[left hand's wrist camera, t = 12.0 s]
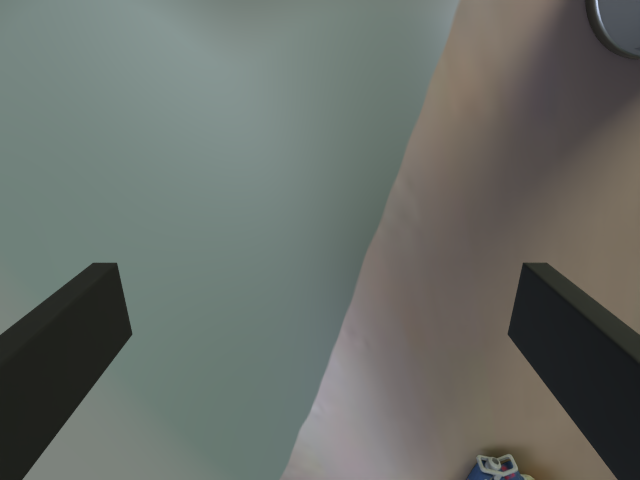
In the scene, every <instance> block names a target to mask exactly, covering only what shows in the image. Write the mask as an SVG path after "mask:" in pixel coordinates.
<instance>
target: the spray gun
mask: <svg viewBox="0 0 640 480" xmlns="http://www.w3.org/2000/svg"><path fill="white" fill-rule="evenodd" d="M476 459H477V461H478V462H477V464H476V465H475V467H474V468H473V470H472V471H471V473H470V474H469V476H468V478H467V480H535V479H534V478H532V477H531V476H530V475H526V474H520V473H519V471H518V467H517V465H516V463H515V461H514V459H513V457H512V455H510V454H507V455H504V456H502V457H499V458H494V457H487V456H482V455H478V456H477V457H476ZM506 459H511V461H512V462H511V461H508V462H505V463H503V464H502V465H501V464H500V461H503V460H506ZM483 460H486V461H483Z"/></svg>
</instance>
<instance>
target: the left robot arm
mask: <svg viewBox="0 0 640 480" xmlns="http://www.w3.org/2000/svg"><path fill="white" fill-rule="evenodd" d="M585 3H586V11H587V16H588V20H589V23H590V26H591V28H592V30H593V32H594V34H595V35H596V37H597V38H598V40H599V41H600V42H601V43H602V44H603V45H604V46H605V47H606V48H607V49H609V50H610V51H612V52H613V53H615V54H617V55H620V56H622V57H626V58H631V59H640V0H585ZM131 335H132V330H131V326H130V321H129V316H128V312H127V307H126V302H125V298H124V293H123V289H122V284H121V279H120V275H119V270H118V266H117V263H92V264H91V265H90V266H89V267H87V268H86V269H85V270H83V271H82V272H81V273H79V274H78V275H77V276H76V277H74V278H73V279H72V280H71V281H69V282H68V283H67V284H65V285H64V286H63V287H61V288H60V289H59V290H58V291H56V292H55V293H54V294H52V295H51V296H50V297H49V298H47V299H46V300H45V301H43V302H42V303H41V304H40V305H38V306H37V307H36V308H34V309H33V310H32V311H31V312H29V313H28V314H27V315H25V316H24V317H23V318H22V319H20V320H19V321H18V322H16V323H15V324H14V325H13V326H11V327H10V328H9V329H7V330H6V331H5V332H4V333H2V334H1V335H0V480H22V479H23V478H24V477H25V475H26V474H27V473H28V471H29V470H30V469H31V467H32V466H33V465H34V463H35V462H36V461H37V460H38V458H39V457H40V456H41V454H42V453H43V452H44V450H45V449H46V448H47V446H48V445H49V444H50V442H51V441H52V440H53V438H54V437H55V436H56V434H57V433H58V432H59V430H60V429H61V428H62V426H63V425H64V424H65V423H66V421H67V420H68V419H69V417H70V416H71V415H72V413H73V412H74V411H75V409H76V408H77V407H78V405H79V404H80V403H81V401H82V400H83V399H84V397H85V396H86V395H87V393H88V392H89V391H90V390H91V388H92V387H93V386H94V384H95V383H96V382H97V380H98V379H99V378H100V376H101V375H102V374H103V372H104V371H105V370H106V368H107V367H108V366H109V364H110V363H111V362H112V361H113V359H114V358H115V357H116V355H117V354H118V353H119V351H120V350H121V349H122V347H123V346H124V345H125V343H126V342H127V341H128V339H129V338H130V337H131ZM508 335H509V337H510V338H511V339H512V341H513V342H514V343H515V345H516V346H517V347H518V349H519V350H520V351H521V353H522V354H523V355H524V357H525V358H526V359H527V361H528V362H529V363H530V364H531V366H532V367H533V368H534V370H535V371H536V372H537V374H538V375H539V376H540V378H541V379H542V380H543V382H544V383H545V384H546V386H547V387H548V388H549V390H550V391H551V392H552V394H553V395H554V396H555V397H556V399H557V400H558V401H559V403H560V404H561V405H562V407H563V408H564V409H565V411H566V412H567V413H568V415H569V416H570V417H571V419H572V420H573V421H574V423H575V424H576V425H577V427H578V428H579V429H580V431H581V432H582V433H583V434H584V436H585V437H586V438H587V440H588V441H589V442H590V444H591V445H592V446H593V448H594V449H595V450H596V452H597V453H598V454H599V456H600V457H601V458H602V460H603V461H604V462H605V464H606V465H607V466H608V467H609V469H610V470H611V471H612V473H613V474H614V475H615V477H616V478H617V479H618V480H640V335H639V334H638V333H636V332H635V331H634V330H633V329H631V328H630V327H629V326H627V325H626V324H625V323H624V322H622V321H621V320H620V319H618V318H617V317H616V316H615V315H613V314H612V313H611V312H609V311H608V310H607V309H606V308H604V307H603V306H602V305H600V304H599V303H598V302H597V301H595V300H594V299H593V298H591V297H590V296H589V295H588V294H586V293H585V292H584V291H582V290H581V289H580V288H579V287H577V286H576V285H575V284H573V283H572V282H571V281H570V280H568V279H567V278H566V277H564V276H563V275H562V274H561V273H559V272H558V271H557V270H555V269H554V268H553V267H552V266H550V265H549V264H548V263H523V266H522V270H521V275H520V279H519V284H518V289H517V293H516V298H515V302H514V307H513V312H512V316H511V321H510V326H509V330H508Z"/></svg>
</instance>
